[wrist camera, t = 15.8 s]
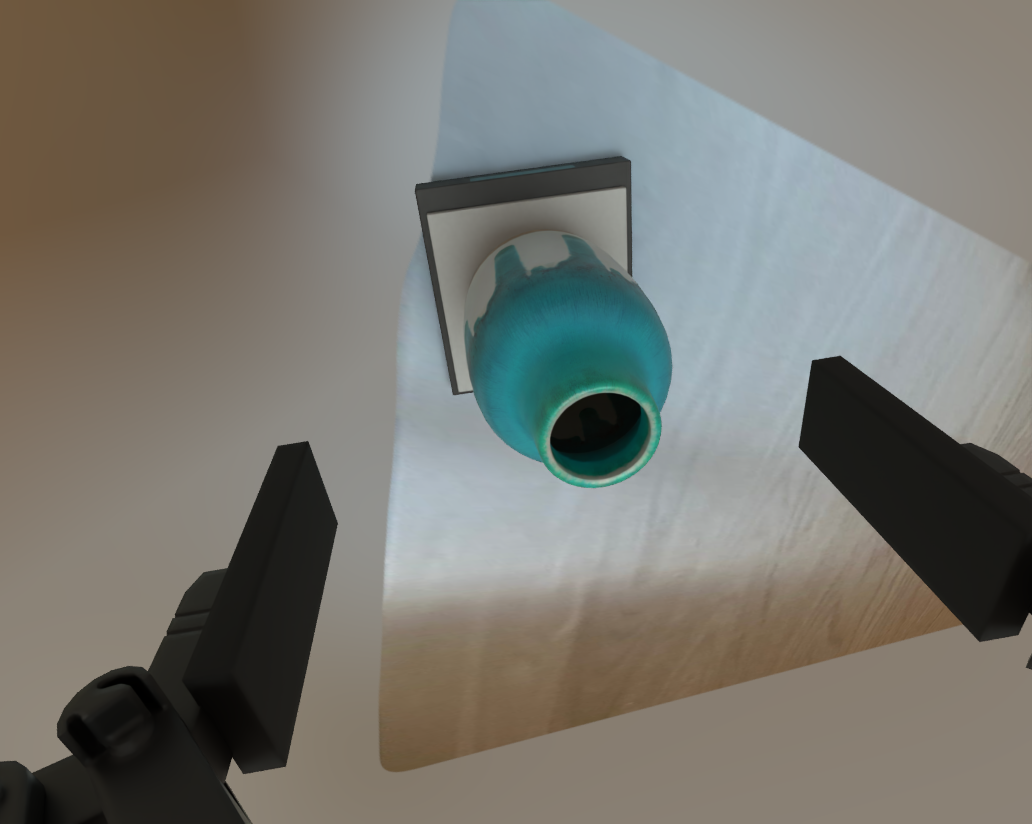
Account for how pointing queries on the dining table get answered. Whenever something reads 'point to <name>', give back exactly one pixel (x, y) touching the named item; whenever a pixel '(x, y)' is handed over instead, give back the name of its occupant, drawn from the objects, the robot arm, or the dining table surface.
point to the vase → (567, 357)
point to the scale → (515, 228)
